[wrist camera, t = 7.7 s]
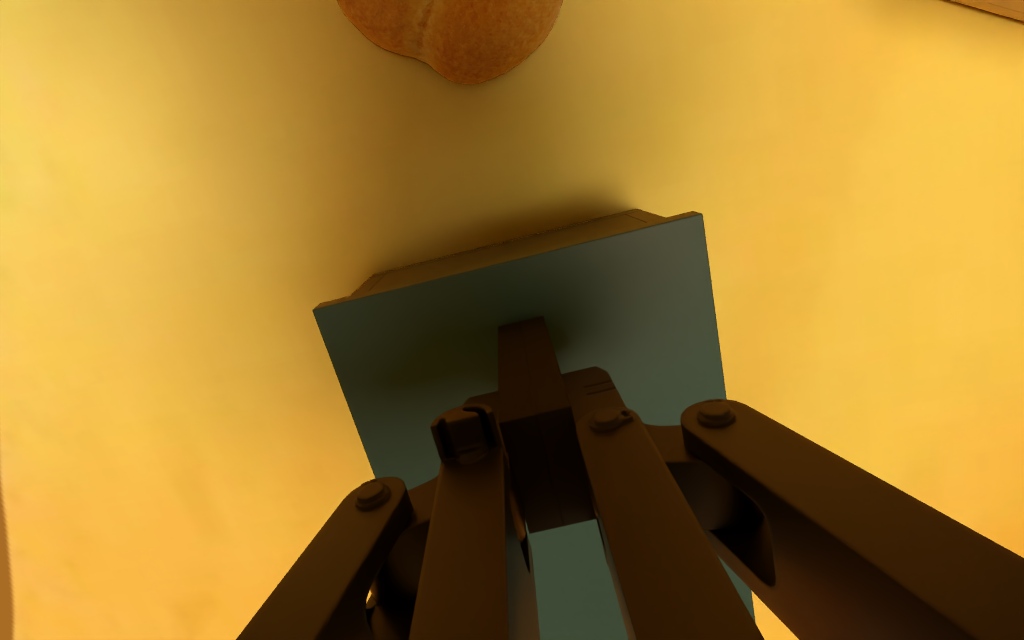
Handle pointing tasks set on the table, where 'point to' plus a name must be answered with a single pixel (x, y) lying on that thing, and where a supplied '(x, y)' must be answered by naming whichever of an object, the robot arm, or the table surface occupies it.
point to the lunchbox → (507, 249)
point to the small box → (999, 7)
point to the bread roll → (457, 32)
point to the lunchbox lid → (577, 345)
